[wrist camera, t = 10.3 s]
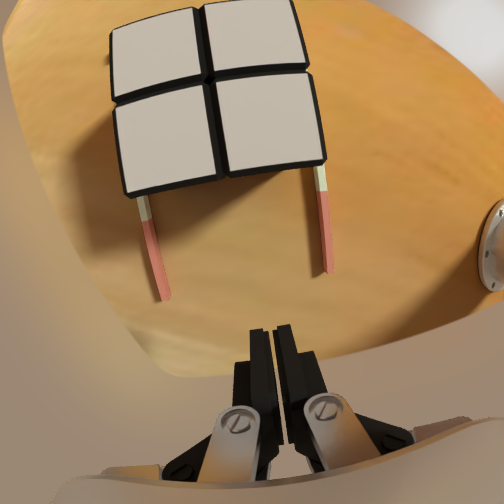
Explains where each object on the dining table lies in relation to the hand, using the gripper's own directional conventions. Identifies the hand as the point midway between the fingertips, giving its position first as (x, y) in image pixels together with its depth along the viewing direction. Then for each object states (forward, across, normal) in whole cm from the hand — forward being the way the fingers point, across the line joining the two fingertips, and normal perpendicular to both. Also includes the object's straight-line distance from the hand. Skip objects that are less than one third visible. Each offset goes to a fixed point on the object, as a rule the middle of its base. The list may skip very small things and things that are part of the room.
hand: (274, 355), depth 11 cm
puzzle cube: (+13, +2, -12) cm, 18 cm away
